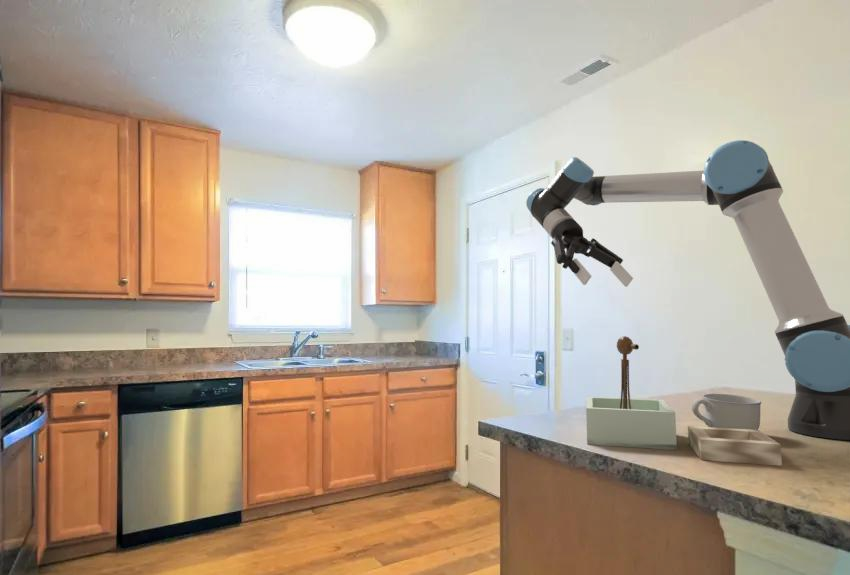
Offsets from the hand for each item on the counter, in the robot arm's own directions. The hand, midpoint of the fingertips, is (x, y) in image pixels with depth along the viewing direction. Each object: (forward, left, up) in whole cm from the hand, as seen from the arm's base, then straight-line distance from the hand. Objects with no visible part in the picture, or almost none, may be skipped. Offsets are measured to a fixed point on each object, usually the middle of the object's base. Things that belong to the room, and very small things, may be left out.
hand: (609, 281), depth 119 cm
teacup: (-22, +2, -34) cm, 41 cm away
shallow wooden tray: (-19, +20, -34) cm, 44 cm away
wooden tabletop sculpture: (-2, +12, -33) cm, 35 cm away
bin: (-2, +12, -34) cm, 36 cm away
